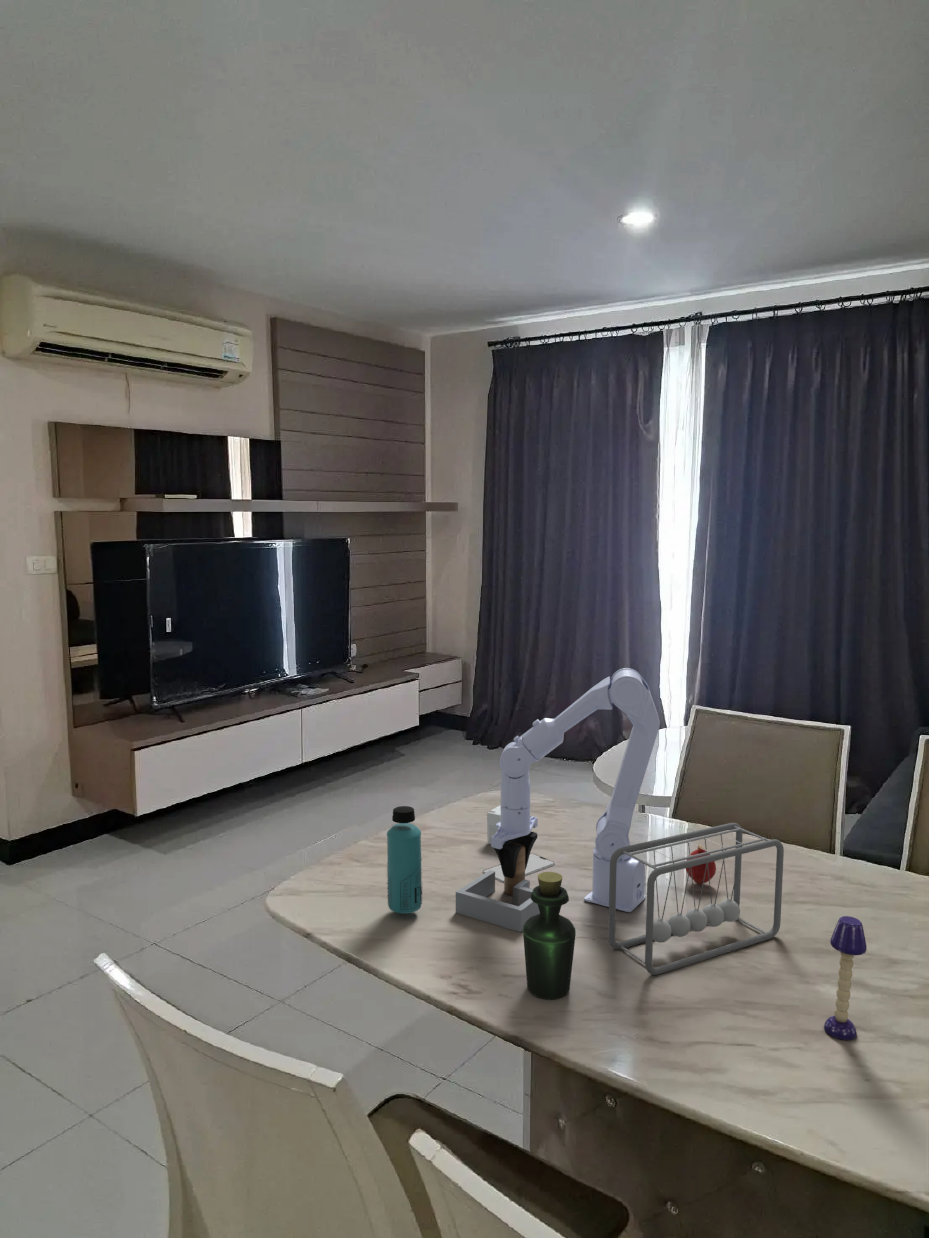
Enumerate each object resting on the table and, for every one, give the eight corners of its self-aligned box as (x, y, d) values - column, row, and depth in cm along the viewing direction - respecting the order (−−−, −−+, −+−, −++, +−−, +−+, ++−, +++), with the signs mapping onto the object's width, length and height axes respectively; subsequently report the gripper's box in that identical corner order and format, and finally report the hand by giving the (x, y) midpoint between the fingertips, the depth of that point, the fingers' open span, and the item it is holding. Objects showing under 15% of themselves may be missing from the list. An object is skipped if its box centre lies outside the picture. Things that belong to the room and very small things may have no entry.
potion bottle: (541, 969, 138) (542, 861, 136) (584, 986, 133) (587, 875, 131) (511, 990, 132) (512, 878, 130) (555, 1009, 126) (557, 892, 125)
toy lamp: (851, 1022, 123) (857, 911, 122) (867, 1041, 119) (874, 927, 117) (818, 1023, 123) (824, 912, 121) (833, 1042, 119) (839, 927, 117)
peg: (528, 890, 168) (529, 846, 167) (518, 897, 164) (518, 852, 163) (510, 885, 170) (511, 841, 169) (500, 892, 166) (500, 848, 165)
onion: (712, 879, 173) (713, 841, 172) (717, 891, 167) (719, 851, 167) (682, 877, 174) (684, 839, 173) (687, 889, 168) (688, 850, 167)
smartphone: (480, 871, 176) (532, 852, 186) (480, 874, 177) (532, 855, 186) (504, 882, 171) (557, 862, 180) (504, 885, 171) (556, 865, 181)
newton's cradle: (647, 979, 135) (650, 871, 133) (606, 950, 144) (608, 849, 142) (781, 936, 149) (785, 838, 147) (735, 912, 158) (739, 819, 157)
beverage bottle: (417, 923, 154) (417, 815, 151) (382, 919, 155) (381, 812, 153) (426, 907, 160) (426, 803, 158) (392, 904, 161) (391, 801, 159)
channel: (552, 907, 160) (552, 886, 160) (520, 932, 150) (521, 910, 150) (489, 889, 168) (489, 870, 167) (455, 912, 158) (455, 891, 157)
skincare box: (523, 840, 194) (523, 809, 193) (510, 849, 189) (510, 816, 188) (499, 835, 197) (500, 804, 196) (486, 843, 192) (486, 811, 191)
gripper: (516, 791, 173) (515, 856, 175) (477, 811, 161) (477, 880, 163) (547, 797, 169) (546, 863, 171) (510, 818, 157) (509, 889, 159)
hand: (514, 872), depth 167 cm, fingers closed on peg, 4 cm apart
